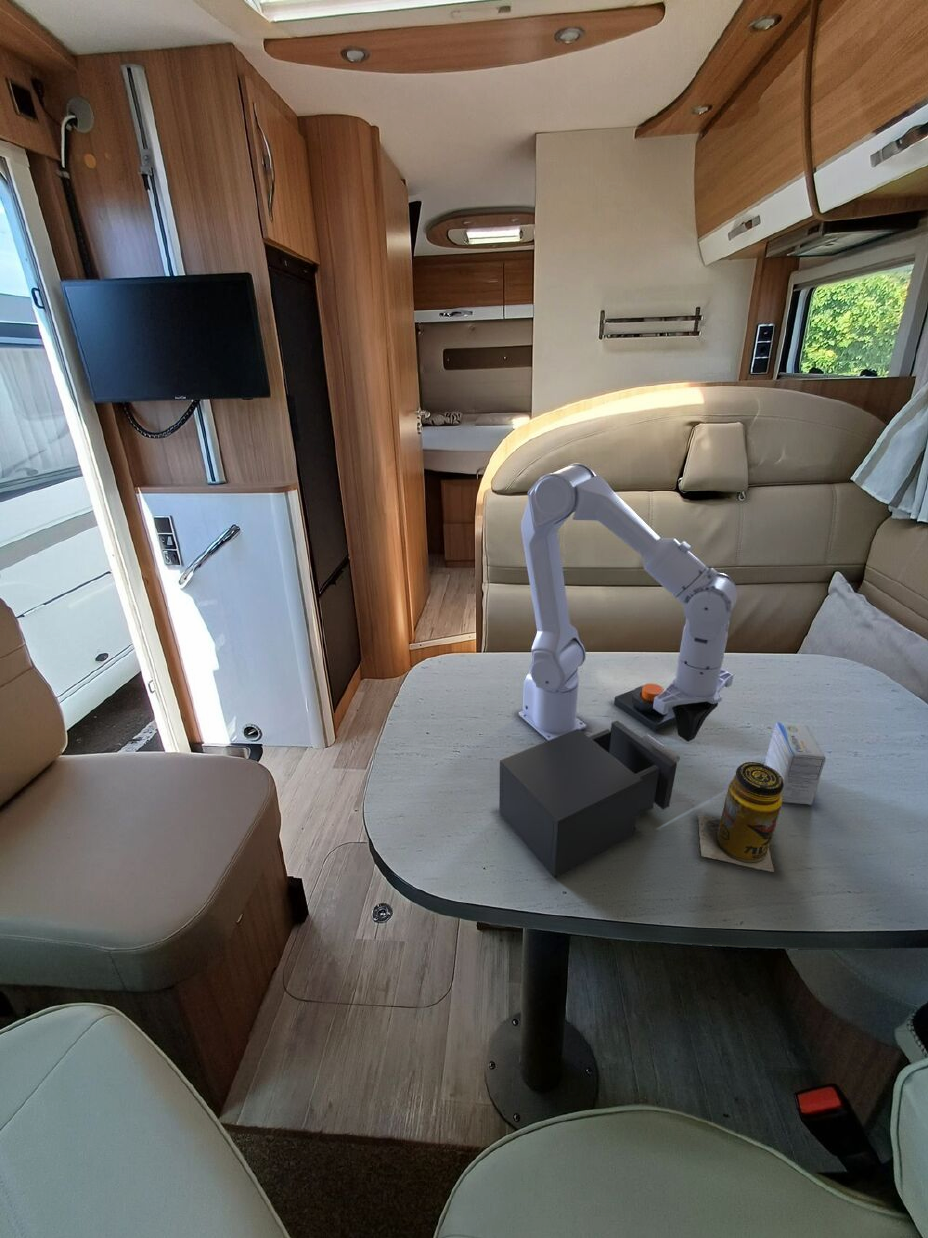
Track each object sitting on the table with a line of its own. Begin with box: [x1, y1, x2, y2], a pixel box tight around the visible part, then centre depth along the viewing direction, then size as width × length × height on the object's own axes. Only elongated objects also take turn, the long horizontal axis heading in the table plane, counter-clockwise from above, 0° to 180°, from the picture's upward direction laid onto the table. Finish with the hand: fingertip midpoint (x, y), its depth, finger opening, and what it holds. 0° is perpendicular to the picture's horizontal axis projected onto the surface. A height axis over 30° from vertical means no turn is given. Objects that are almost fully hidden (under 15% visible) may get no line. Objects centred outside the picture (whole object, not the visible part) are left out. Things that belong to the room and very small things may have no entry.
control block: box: [613, 684, 676, 734], centre depth 100 cm, size 10×8×4 cm
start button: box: [642, 683, 665, 702], centre depth 99 cm, size 4×4×2 cm
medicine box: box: [764, 721, 826, 806], centre depth 81 cm, size 8×4×9 cm, turn 168°
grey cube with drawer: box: [498, 729, 642, 879], centre depth 75 cm, size 14×13×10 cm
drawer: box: [588, 720, 681, 818], centre depth 79 cm, size 17×11×8 cm
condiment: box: [697, 761, 784, 873], centre depth 71 cm, size 7×8×12 cm
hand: (685, 736), depth 85 cm, fingers closed
